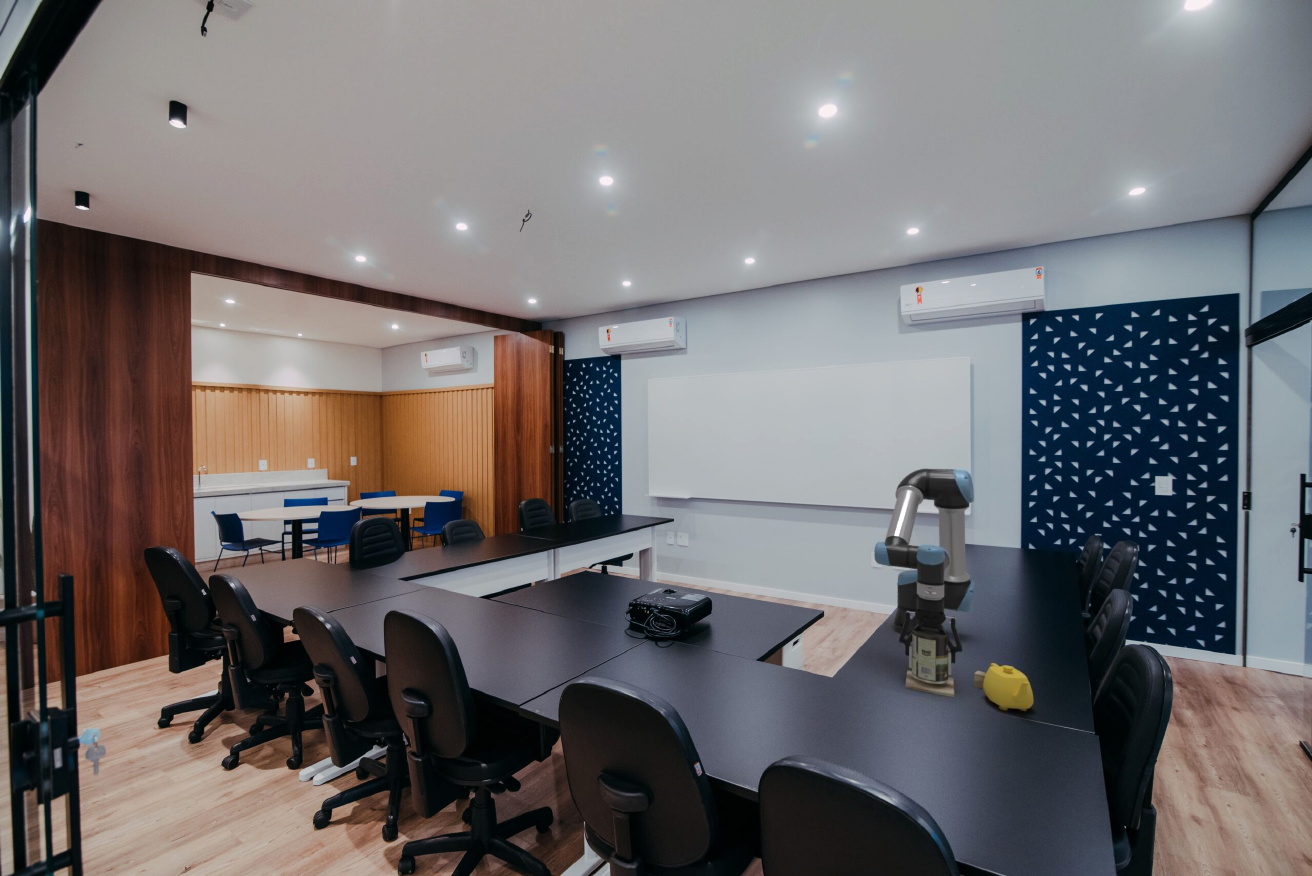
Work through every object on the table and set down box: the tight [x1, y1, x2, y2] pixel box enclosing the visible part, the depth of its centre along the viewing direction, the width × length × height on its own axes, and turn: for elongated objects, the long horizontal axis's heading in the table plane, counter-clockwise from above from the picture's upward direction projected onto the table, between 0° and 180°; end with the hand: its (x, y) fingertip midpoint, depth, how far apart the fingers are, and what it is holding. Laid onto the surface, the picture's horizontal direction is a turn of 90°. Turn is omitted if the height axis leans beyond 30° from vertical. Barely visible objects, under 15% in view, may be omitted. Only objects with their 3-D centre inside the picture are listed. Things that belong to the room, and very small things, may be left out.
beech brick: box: [973, 670, 987, 689], centre depth 171 cm, size 6×3×4 cm, turn 44°
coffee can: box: [911, 626, 950, 684], centre depth 173 cm, size 10×10×14 cm
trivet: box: [904, 669, 955, 698], centre depth 173 cm, size 13×13×1 cm
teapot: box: [982, 662, 1034, 712], centre depth 159 cm, size 18×11×11 cm, turn 177°
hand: (929, 669), depth 173 cm, fingers closed on coffee can, 10 cm apart
